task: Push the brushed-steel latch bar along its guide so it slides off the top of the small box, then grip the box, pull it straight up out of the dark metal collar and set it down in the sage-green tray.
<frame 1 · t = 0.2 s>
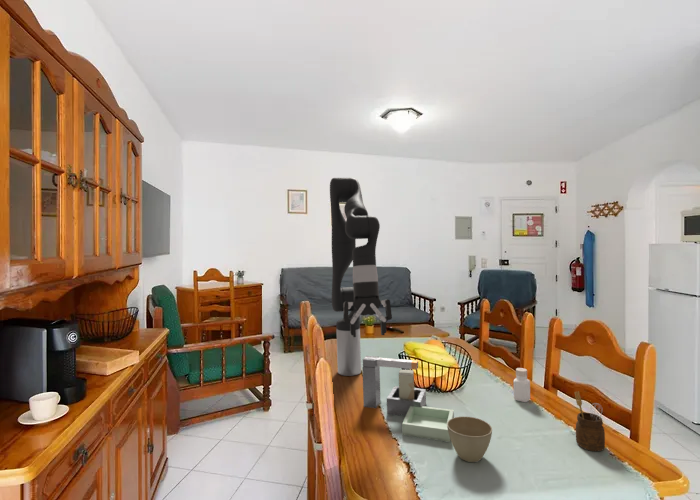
hand: (368, 336, 112), 23 cm above the table, tool pointing down, fingers open, 8 cm apart
utensil holder: (589, 446, 91), on the table
collar: (407, 408, 115), on the table
flower pot: (470, 457, 88), on the table
tray: (429, 427, 103), on the table
latch bar: (390, 362, 116), point 13 cm above the table, slide at 0.0 cm
white pill bottle: (522, 400, 118), on the table
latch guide: (372, 404, 118), on the table
box: (407, 409, 115), resting in collar
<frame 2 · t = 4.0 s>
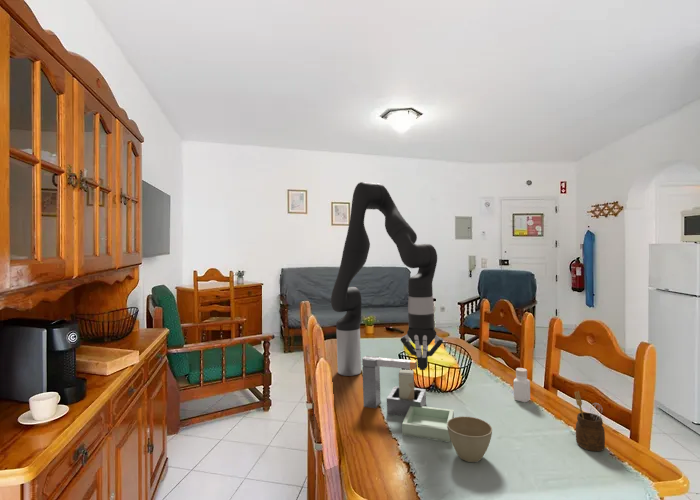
hand: (422, 369, 113), 12 cm above the table, tool pointing down, fingers closed
latch bar: (389, 362, 116), point 14 cm above the table, slide at 0.5 cm, touching gripper
everything else where it was.
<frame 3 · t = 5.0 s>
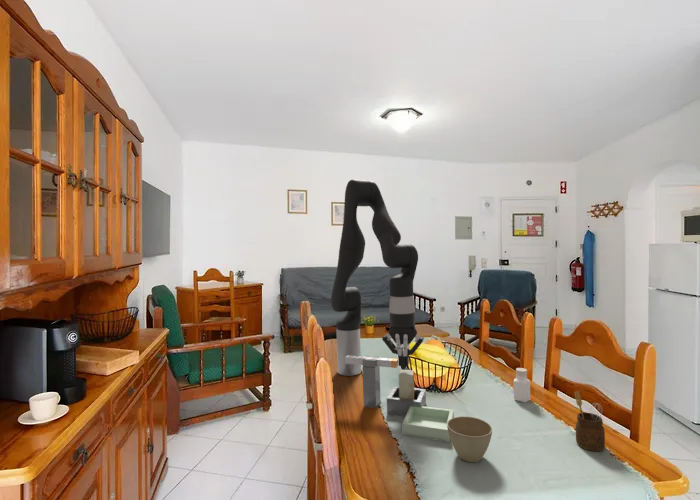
hand: (403, 367, 115), 12 cm above the table, tool pointing down, fingers closed
latch bar: (371, 361, 118), point 14 cm above the table, slide at 6.2 cm, touching gripper
everything else where it was.
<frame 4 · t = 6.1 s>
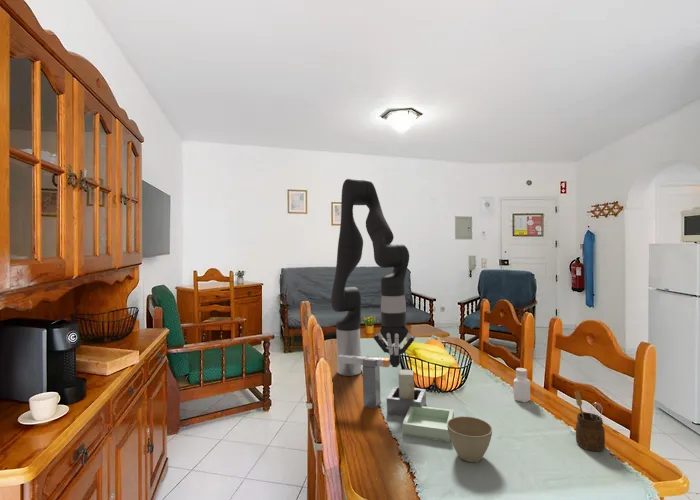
hand: (395, 366, 116), 13 cm above the table, tool pointing down, fingers closed
latch bar: (363, 360, 119), point 13 cm above the table, slide at 8.7 cm, touching gripper
everything else where it was.
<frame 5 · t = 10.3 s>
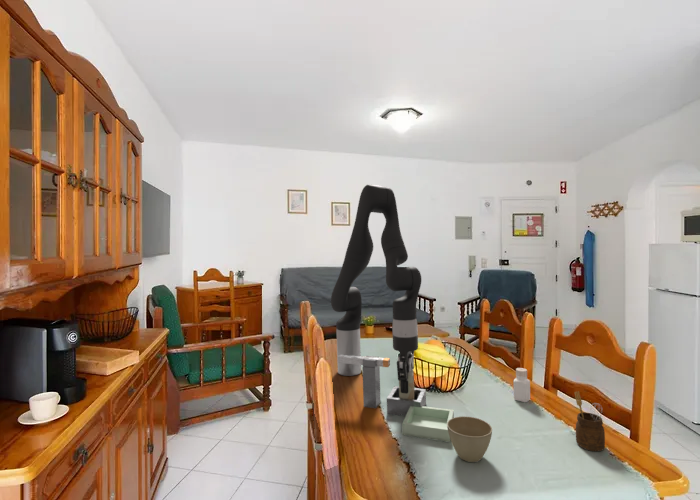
hand: (406, 388, 115), 6 cm above the table, tool pointing down, fingers closed on box, 5 cm apart
latch bar: (363, 360, 119), point 13 cm above the table, slide at 8.7 cm
box: (407, 409, 115), resting in collar, touching gripper
everything else where it was.
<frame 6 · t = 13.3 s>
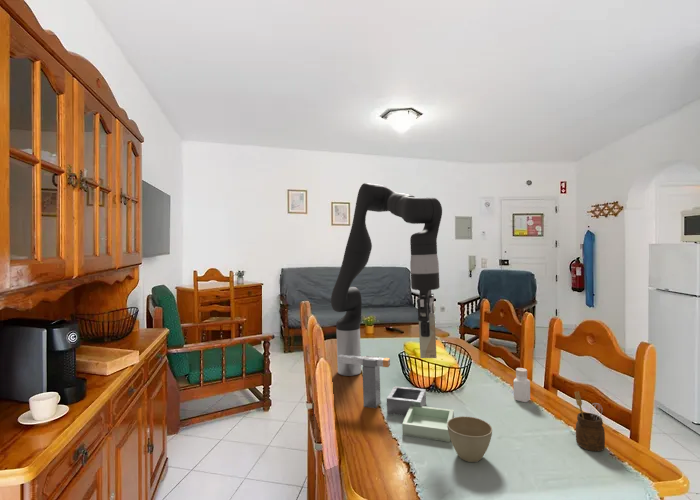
hand: (427, 333, 102), 25 cm above the table, tool pointing down, fingers closed on box, 5 cm apart
box: (428, 356, 102), point 19 cm above the table, touching gripper
everything else where it was.
when the fingers open (9 cm above the table, at t = 16.3 s): box drops 2 cm, resting on tray.
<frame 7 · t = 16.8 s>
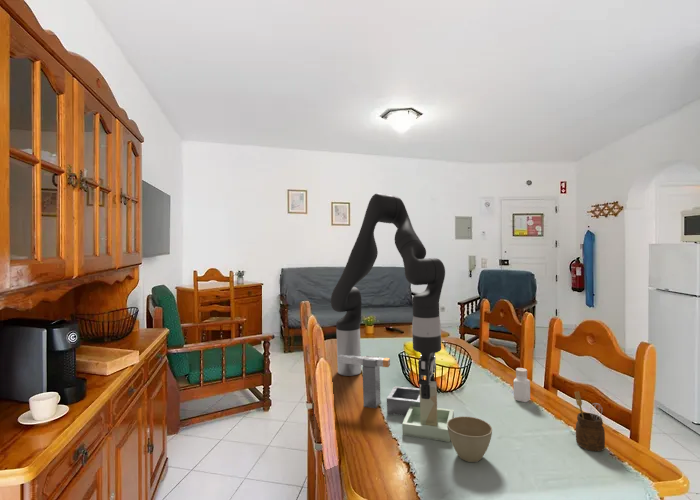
hand: (428, 392, 102), 10 cm above the table, tool pointing down, fingers open, 8 cm apart
box: (429, 425, 103), resting on tray
everything else where it was.
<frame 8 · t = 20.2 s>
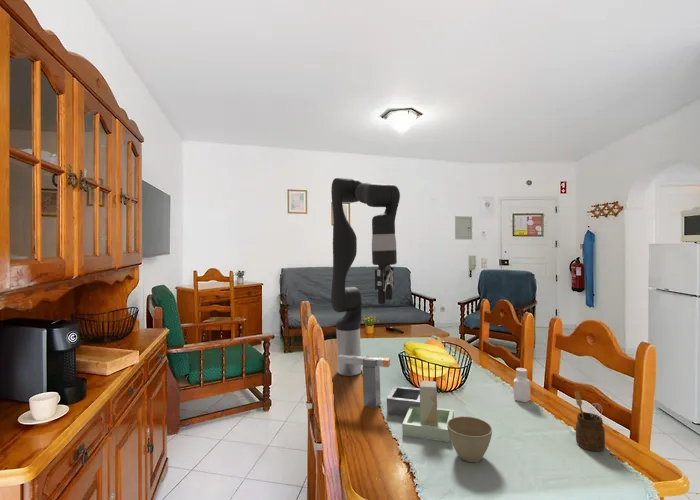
hand: (385, 301, 117), 32 cm above the table, tool pointing down, fingers open, 8 cm apart
nothing on the table moved.
at the end: box inside the target area on the tray (0.6 cm from its centre), point 0.4 cm above the tray's base; latch bar slide at 8.7 cm; the gripper is holding nothing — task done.
